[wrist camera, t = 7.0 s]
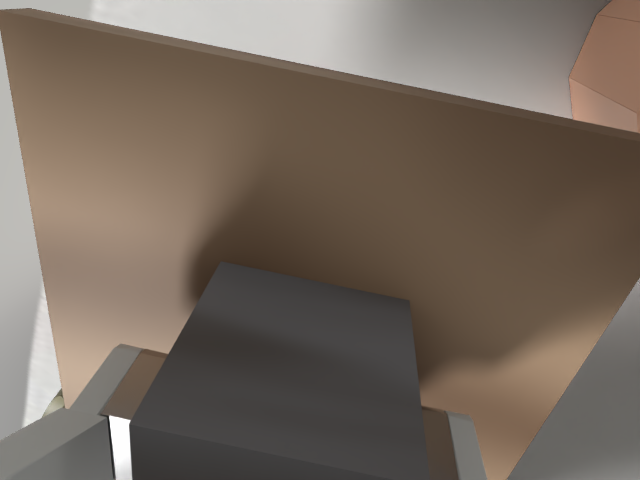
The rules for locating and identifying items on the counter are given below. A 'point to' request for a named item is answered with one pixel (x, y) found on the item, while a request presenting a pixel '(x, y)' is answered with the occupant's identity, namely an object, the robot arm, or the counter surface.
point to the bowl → (609, 69)
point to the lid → (311, 251)
